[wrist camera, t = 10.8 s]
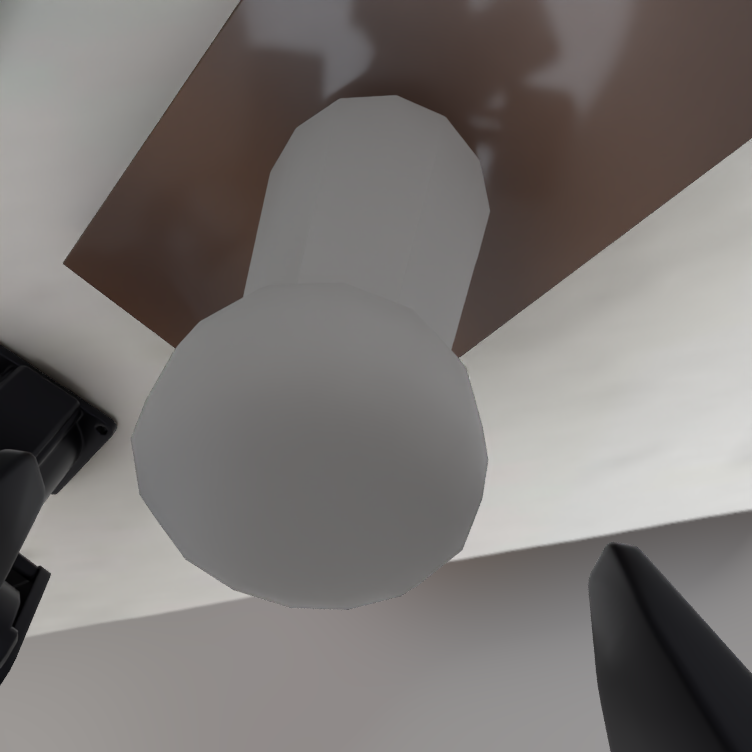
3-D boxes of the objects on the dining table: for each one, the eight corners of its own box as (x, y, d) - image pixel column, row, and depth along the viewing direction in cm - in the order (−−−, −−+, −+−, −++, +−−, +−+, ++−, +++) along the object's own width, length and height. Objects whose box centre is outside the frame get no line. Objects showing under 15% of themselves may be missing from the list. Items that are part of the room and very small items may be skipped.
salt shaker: (303, 280, 19) (125, 662, 8) (272, 90, 16) (-89, 308, 5) (481, 274, 18) (541, 684, 7) (487, 73, 15) (607, 286, 4)
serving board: (330, 431, 25) (323, 460, 23) (88, 244, 21) (61, 263, 19) (801, 65, 16) (839, 73, 14) (534, -400, 12) (549, -457, 10)
